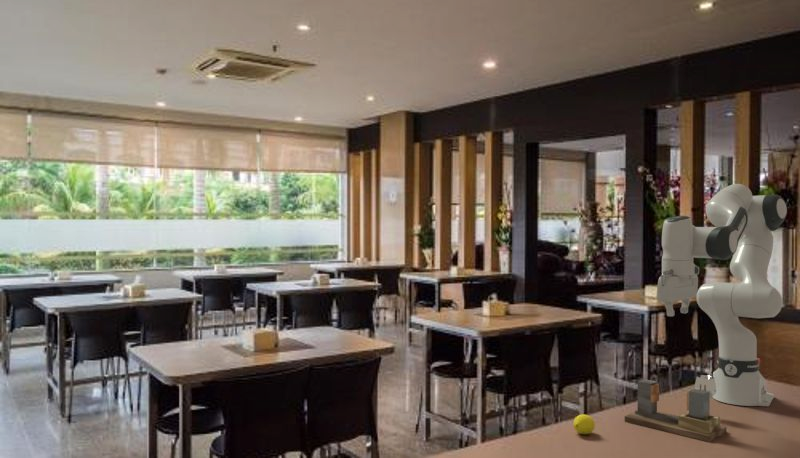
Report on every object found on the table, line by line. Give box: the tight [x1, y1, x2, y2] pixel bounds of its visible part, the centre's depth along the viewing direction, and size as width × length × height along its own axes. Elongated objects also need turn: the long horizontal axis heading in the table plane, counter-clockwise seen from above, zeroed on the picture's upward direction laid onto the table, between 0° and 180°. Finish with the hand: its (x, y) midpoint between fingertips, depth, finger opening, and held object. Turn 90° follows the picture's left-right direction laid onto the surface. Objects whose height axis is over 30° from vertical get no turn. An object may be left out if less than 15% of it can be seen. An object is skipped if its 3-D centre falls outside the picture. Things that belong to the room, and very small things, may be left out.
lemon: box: [572, 414, 596, 435], centre depth 172 cm, size 7×5×5 cm
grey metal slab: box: [686, 388, 711, 421], centre depth 174 cm, size 5×4×9 cm
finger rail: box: [624, 378, 727, 443], centre depth 179 cm, size 12×24×12 cm, turn 42°
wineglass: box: [694, 374, 716, 398], centre depth 189 cm, size 6×6×12 cm
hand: (677, 314), depth 189 cm, fingers open, 8 cm apart
